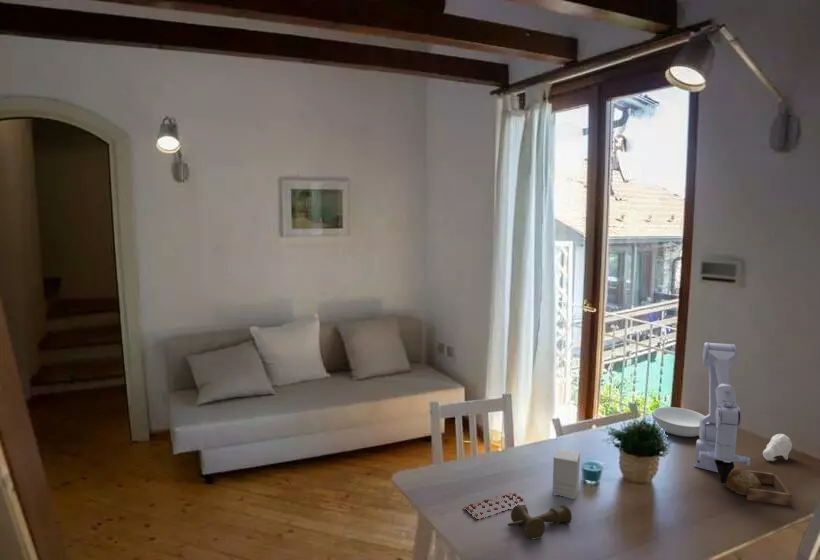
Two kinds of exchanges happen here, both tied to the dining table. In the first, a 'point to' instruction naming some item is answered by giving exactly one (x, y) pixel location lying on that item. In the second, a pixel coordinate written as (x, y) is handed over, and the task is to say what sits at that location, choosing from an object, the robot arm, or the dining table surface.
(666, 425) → the serving bowl
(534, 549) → the dining table surface
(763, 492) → the wooden tray
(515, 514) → the kendama
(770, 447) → the white lumpy piece
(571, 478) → the supplement box
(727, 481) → the bread roll
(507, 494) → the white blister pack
